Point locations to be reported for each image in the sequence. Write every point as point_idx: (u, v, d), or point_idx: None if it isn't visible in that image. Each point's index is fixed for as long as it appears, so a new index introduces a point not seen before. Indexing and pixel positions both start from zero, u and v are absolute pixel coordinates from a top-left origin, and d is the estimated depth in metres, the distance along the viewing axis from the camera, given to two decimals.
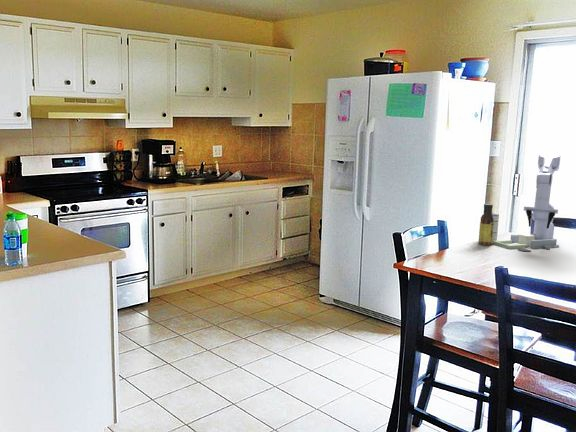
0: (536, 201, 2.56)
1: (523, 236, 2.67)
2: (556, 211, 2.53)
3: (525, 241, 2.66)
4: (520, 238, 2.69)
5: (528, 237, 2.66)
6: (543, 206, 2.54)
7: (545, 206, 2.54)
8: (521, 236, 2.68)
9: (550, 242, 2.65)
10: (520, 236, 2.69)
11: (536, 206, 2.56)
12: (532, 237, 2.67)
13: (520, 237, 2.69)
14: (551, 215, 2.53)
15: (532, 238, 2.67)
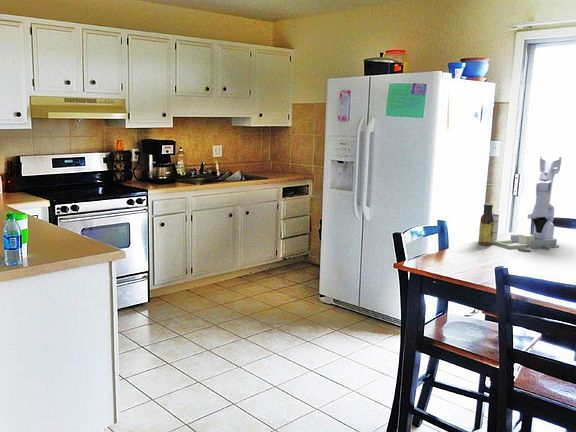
0: (540, 209, 2.67)
1: (523, 236, 2.67)
2: (552, 216, 2.71)
3: (525, 241, 2.66)
4: (520, 238, 2.69)
5: (528, 237, 2.66)
6: (546, 213, 2.67)
7: (547, 213, 2.68)
8: (521, 236, 2.69)
9: (550, 242, 2.65)
10: (520, 236, 2.69)
11: (540, 214, 2.67)
12: (532, 237, 2.67)
13: (520, 237, 2.69)
14: (545, 221, 2.68)
15: (532, 238, 2.67)
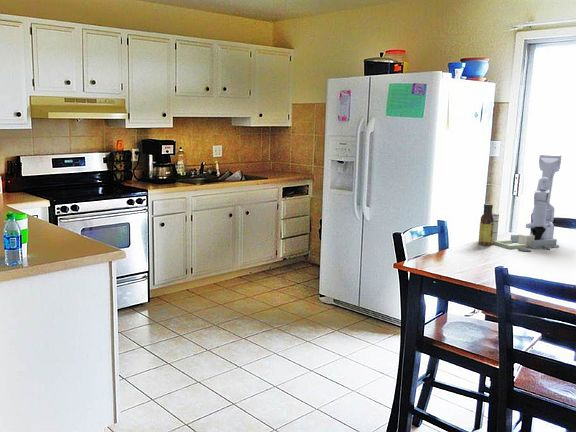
0: (538, 218, 2.67)
1: (523, 236, 2.67)
2: (550, 225, 2.72)
3: (525, 241, 2.66)
4: (520, 238, 2.69)
5: (528, 237, 2.66)
6: (544, 222, 2.68)
7: (545, 222, 2.69)
8: (521, 236, 2.69)
9: (550, 242, 2.65)
10: (520, 236, 2.69)
11: (538, 223, 2.68)
12: (532, 237, 2.67)
13: (520, 237, 2.69)
14: (543, 230, 2.69)
15: (532, 238, 2.67)
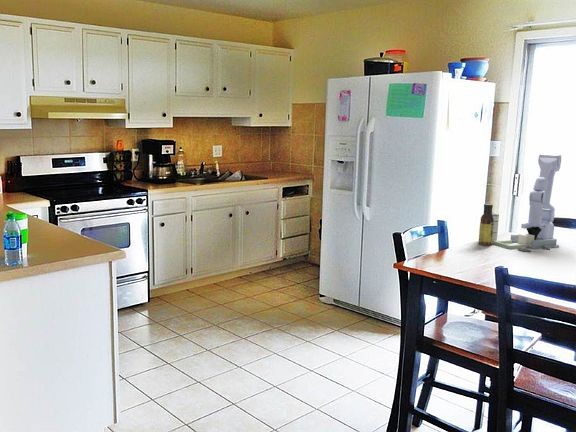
0: (533, 218, 2.66)
1: (523, 236, 2.67)
2: (545, 225, 2.71)
3: (524, 241, 2.66)
4: (520, 238, 2.69)
5: (528, 237, 2.66)
6: (540, 223, 2.67)
7: (540, 222, 2.67)
8: (521, 236, 2.68)
9: (550, 242, 2.65)
10: (520, 236, 2.69)
11: (534, 223, 2.66)
12: (532, 237, 2.67)
13: (520, 237, 2.69)
14: (539, 230, 2.68)
15: (532, 238, 2.67)
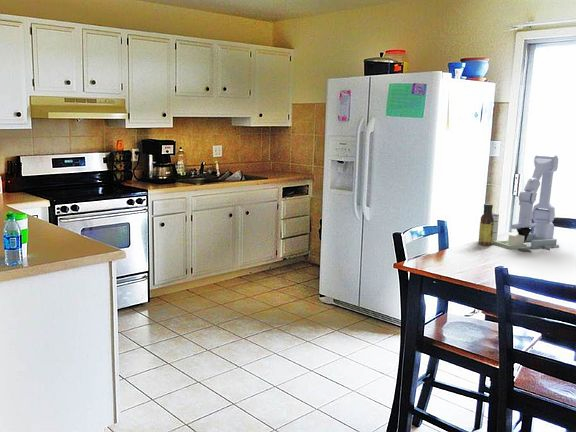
0: (523, 219, 2.64)
1: (513, 236, 2.65)
2: (536, 225, 2.68)
3: (514, 242, 2.64)
4: (510, 238, 2.67)
5: (518, 237, 2.63)
6: (530, 223, 2.64)
7: (530, 223, 2.65)
8: (511, 236, 2.66)
9: (550, 242, 2.65)
10: (510, 236, 2.67)
11: (524, 224, 2.64)
12: (522, 237, 2.64)
13: (510, 237, 2.67)
14: (529, 231, 2.65)
15: (522, 238, 2.64)
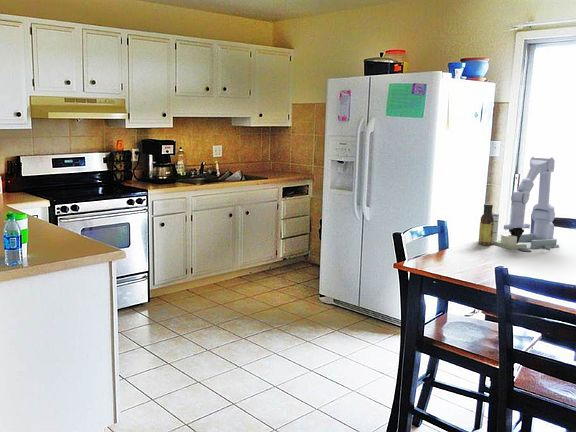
0: (516, 219, 2.62)
1: (505, 237, 2.63)
2: (528, 226, 2.67)
3: (507, 242, 2.62)
4: (502, 239, 2.65)
5: (510, 238, 2.62)
6: (522, 224, 2.63)
7: (523, 223, 2.63)
8: (503, 237, 2.64)
9: (550, 242, 2.65)
10: (502, 237, 2.65)
11: (516, 224, 2.62)
12: (514, 238, 2.63)
13: (502, 238, 2.65)
14: (522, 231, 2.64)
15: (514, 239, 2.63)
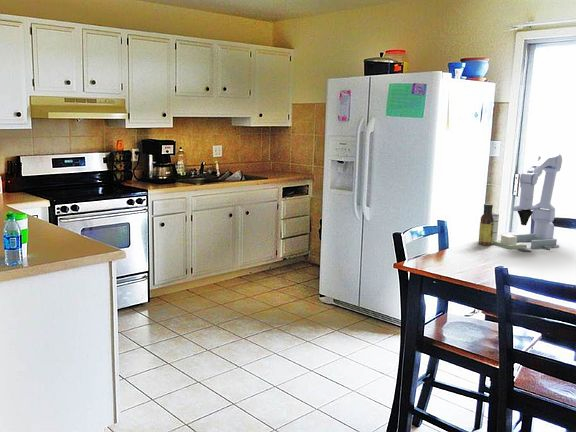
0: (525, 201, 2.63)
1: (505, 237, 2.63)
2: (537, 208, 2.67)
3: (507, 243, 2.62)
4: (502, 239, 2.65)
5: (510, 238, 2.62)
6: (531, 205, 2.63)
7: None
8: (503, 237, 2.64)
9: (550, 242, 2.65)
10: (502, 237, 2.65)
11: (525, 206, 2.63)
12: (514, 238, 2.63)
13: (502, 238, 2.65)
14: (530, 213, 2.64)
15: (514, 239, 2.63)
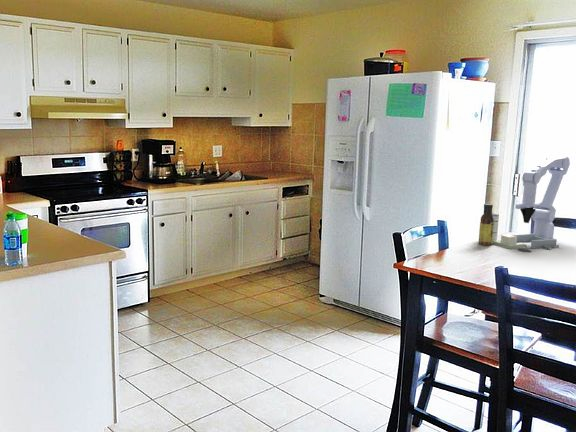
0: (527, 199, 2.69)
1: (505, 237, 2.63)
2: (539, 206, 2.74)
3: (507, 243, 2.62)
4: (502, 239, 2.65)
5: (510, 238, 2.62)
6: (534, 203, 2.70)
7: (534, 203, 2.71)
8: (503, 237, 2.64)
9: (550, 242, 2.65)
10: (502, 237, 2.65)
11: (528, 204, 2.70)
12: (514, 238, 2.63)
13: (502, 238, 2.65)
14: (533, 211, 2.71)
15: (514, 239, 2.63)
